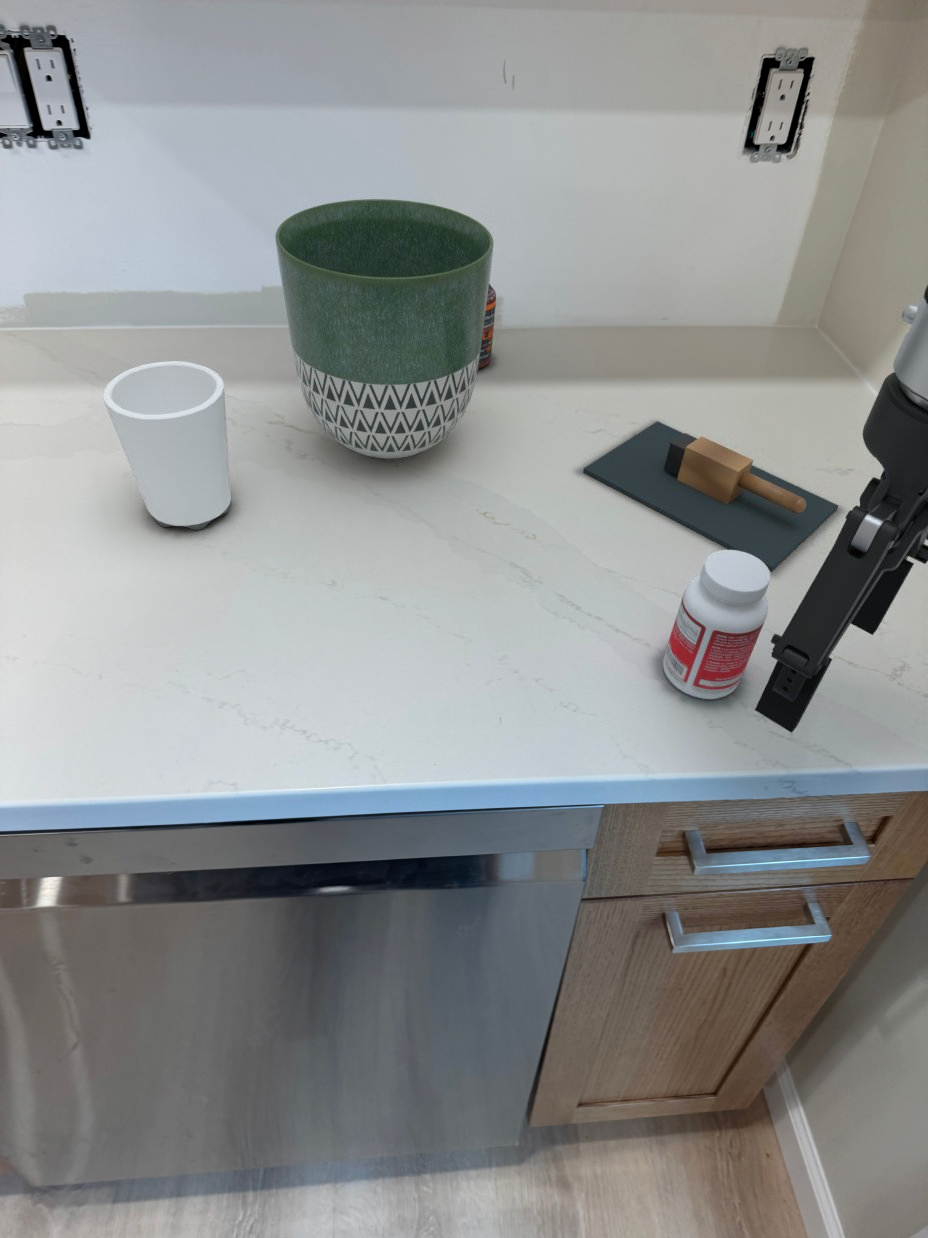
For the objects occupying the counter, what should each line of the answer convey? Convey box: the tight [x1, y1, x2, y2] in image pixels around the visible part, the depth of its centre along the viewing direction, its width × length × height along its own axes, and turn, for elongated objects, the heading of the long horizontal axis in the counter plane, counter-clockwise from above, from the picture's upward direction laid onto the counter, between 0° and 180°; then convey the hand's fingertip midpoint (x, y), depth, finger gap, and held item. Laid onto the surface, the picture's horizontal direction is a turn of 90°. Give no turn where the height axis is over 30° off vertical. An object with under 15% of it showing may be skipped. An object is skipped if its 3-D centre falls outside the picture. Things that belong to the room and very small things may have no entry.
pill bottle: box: [662, 549, 772, 700], centre depth 63 cm, size 6×6×11 cm
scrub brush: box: [664, 432, 806, 513], centre depth 82 cm, size 15×3×4 cm, turn 47°
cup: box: [102, 360, 232, 531], centre depth 74 cm, size 10×10×13 cm
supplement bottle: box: [478, 280, 497, 370], centre depth 99 cm, size 6×6×11 cm
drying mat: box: [582, 420, 839, 572], centre depth 85 cm, size 22×14×1 cm, turn 47°
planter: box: [274, 198, 494, 460], centre depth 81 cm, size 20×20×21 cm
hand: (818, 668), depth 58 cm, fingers open, 12 cm apart
